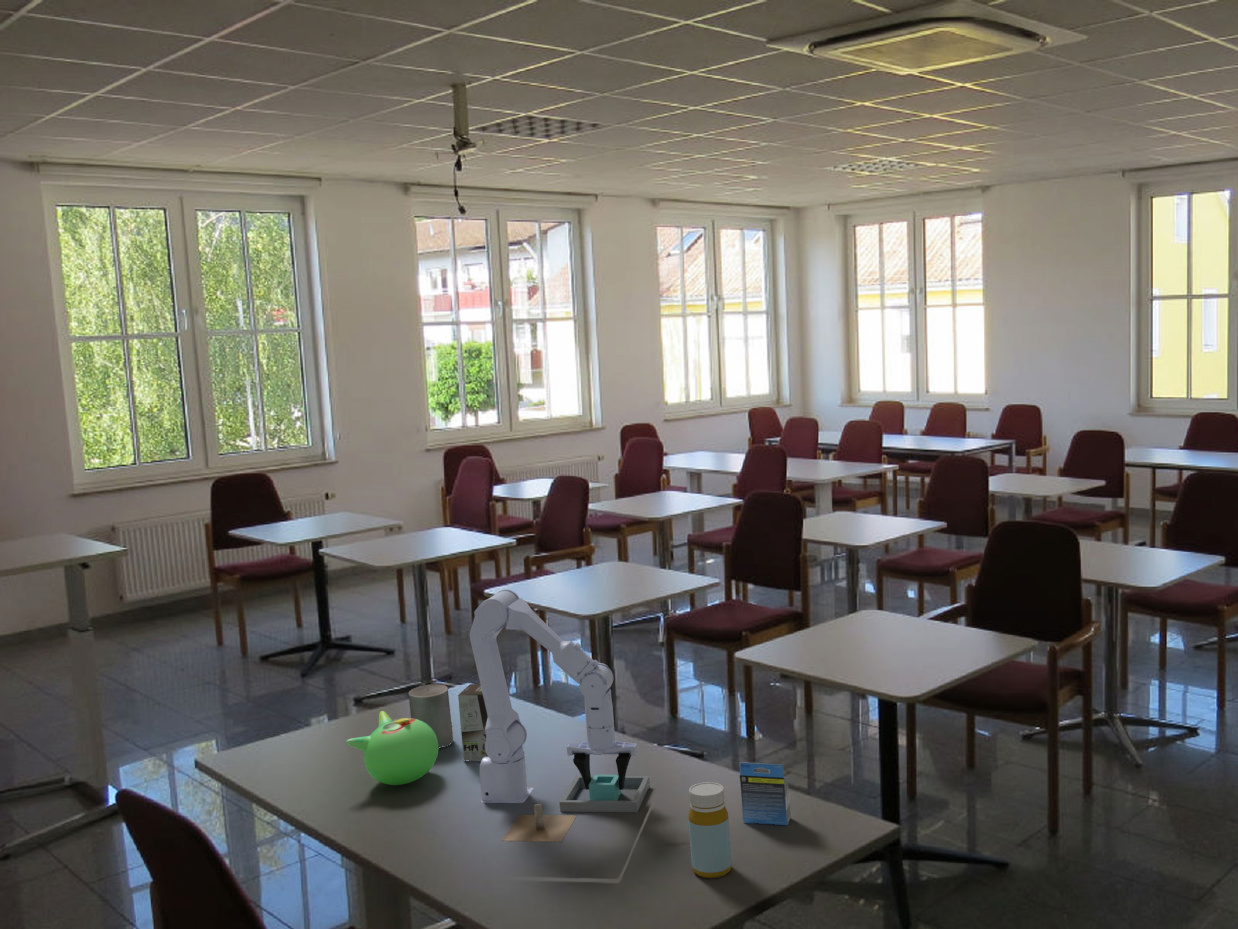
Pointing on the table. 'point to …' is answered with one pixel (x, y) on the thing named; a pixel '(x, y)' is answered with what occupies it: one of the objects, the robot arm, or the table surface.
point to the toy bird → (398, 750)
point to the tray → (605, 806)
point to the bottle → (709, 830)
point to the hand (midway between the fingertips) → (605, 788)
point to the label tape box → (764, 794)
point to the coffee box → (473, 722)
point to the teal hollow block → (604, 788)
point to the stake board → (540, 835)
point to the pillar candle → (433, 710)
